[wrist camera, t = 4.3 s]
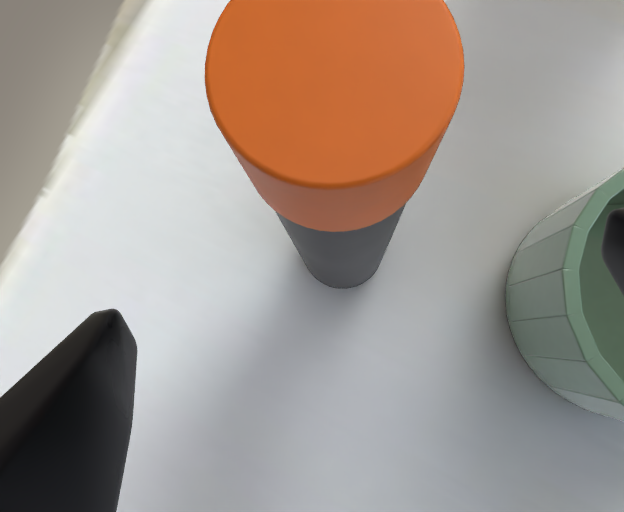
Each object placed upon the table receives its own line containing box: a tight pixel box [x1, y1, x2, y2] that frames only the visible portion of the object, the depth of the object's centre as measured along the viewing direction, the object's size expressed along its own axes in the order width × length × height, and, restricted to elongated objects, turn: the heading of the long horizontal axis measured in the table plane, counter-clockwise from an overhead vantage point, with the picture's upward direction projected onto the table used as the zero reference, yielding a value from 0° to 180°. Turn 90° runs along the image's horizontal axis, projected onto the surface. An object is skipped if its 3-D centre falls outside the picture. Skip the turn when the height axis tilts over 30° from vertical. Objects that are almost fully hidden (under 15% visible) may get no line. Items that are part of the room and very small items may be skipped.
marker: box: [205, 0, 464, 288], centre depth 12 cm, size 3×3×13 cm
